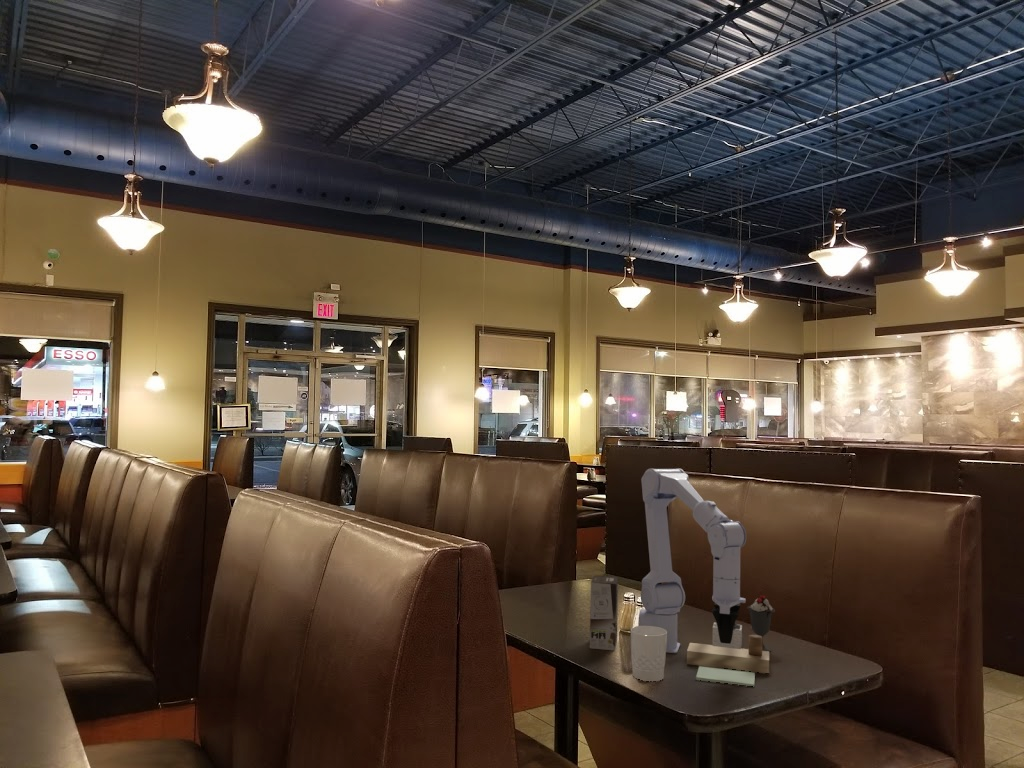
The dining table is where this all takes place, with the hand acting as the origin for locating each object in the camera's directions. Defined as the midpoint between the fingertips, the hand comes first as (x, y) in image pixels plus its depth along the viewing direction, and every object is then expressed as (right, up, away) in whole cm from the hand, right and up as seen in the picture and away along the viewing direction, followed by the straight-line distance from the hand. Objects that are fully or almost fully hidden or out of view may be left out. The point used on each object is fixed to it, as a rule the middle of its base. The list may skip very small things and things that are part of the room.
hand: (726, 639), depth 167 cm
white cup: (-17, -8, -1) cm, 19 cm away
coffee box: (-24, -9, +22) cm, 34 cm away
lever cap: (0, -1, 0) cm, 1 cm away
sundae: (+14, -10, +21) cm, 27 cm away
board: (0, -8, 0) cm, 8 cm away
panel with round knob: (+3, -9, +9) cm, 13 cm away
